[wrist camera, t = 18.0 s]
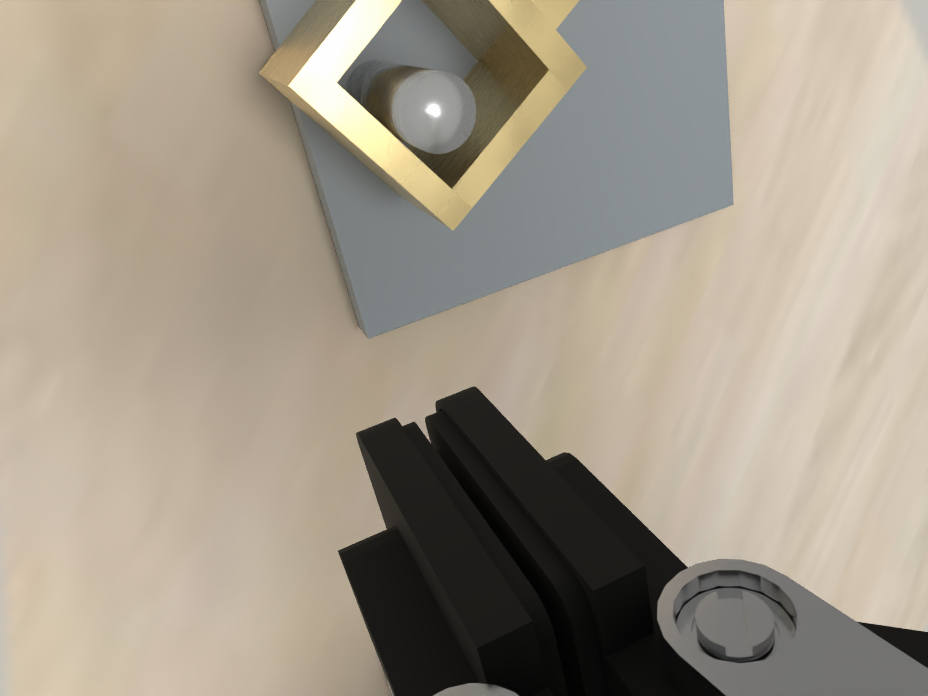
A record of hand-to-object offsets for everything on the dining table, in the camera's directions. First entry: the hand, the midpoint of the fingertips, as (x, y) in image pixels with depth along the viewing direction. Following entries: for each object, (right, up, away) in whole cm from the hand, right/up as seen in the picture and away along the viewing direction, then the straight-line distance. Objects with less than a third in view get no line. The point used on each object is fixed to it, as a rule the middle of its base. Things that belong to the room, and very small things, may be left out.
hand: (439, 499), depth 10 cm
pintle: (-4, +12, +20) cm, 24 cm away
